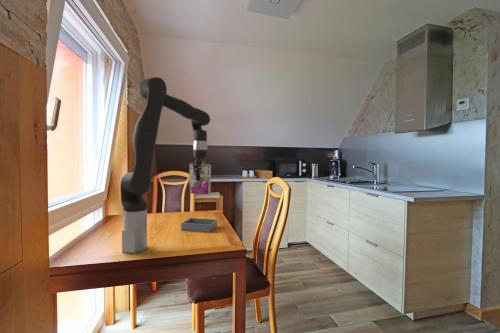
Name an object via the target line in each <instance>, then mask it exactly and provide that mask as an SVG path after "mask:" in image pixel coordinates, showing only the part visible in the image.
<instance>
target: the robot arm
mask: <svg viewBox="0 0 500 333" xmlns="http://www.w3.org/2000/svg"><path fill="white" fill-rule="evenodd" d="M137 90H138V94H139V95H140V96H141V97H142V98H143V99H144V100H146V104H145V107H144V109H143V110H142V113H141V115H140V116H139V118H138V119H137V121H136V123H135V125H134V126H135V127H134V131H133V136H132V146H133V151H134V154H135V155H134V158H135V161H134V162H135V163H134V168H133V171H130V172H127V173H125V174H123V176H122V177H121V180H120V185H119V186H120V189H119V190H120V202H121V205H122V209H123V211H122V212H123V213H122V214H123V216H122V217H123V218H122V222H123V227H122V229H121V253H126V254H137V253H140V252H144V251H145V250H146V249H147V248H148V204H147V201H145V200H144V197H143V195H145V194H146V193H147V192H148V191H149V190H150V188H151V184H152V172H153V171H152V170H153V169H152V167H153V162H154V161H153V159H154V154H155V153H154V152H155V149H156V148H155V147H156V143H157V142H156V141H157V137H158V132H159V131H158V129H159V125H160V120H161V116H162V111H163V107H165V108H167V109H169V110H171V111H172V112H175V113H176V114H178V115H180V116H181V117H183V118H185V119H187V120H190V123H191V127H192V131H193V132H192V133H193V145H192V146H193V152H192V153H193V156H192V157H193V158H194V159H195V161H193V162H192V163H193V168H194V172H195V173H196V180H197V181H199V180H200V171H201V165H202V164H208V162H207V160H205V159H207V158H208V142H207V141H208V132H207V131H206V130H204V129H203V128H202V127H203V126H207V125H209V124H210V122H211V116H210V115H209V113H208V112H206V111H204V110H202V109H199V108H197V107H194V106H193V105H191V104H190V103H188V102H187V101H184V100H183V99H181V98H180V99H179V98H176V97H174V96H172V95H170V94H167V90H168V88H167V84H166V82H165V80H164V79H162V78H161V77H151V78H145V79H143V80H141V81H140V82H139V83H138V85H137ZM200 164H201V165H200ZM199 167H200V168H199ZM195 169H196V170H195Z"/></svg>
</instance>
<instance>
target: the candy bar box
mask: <svg viewBox="0 0 500 333" xmlns="http://www.w3.org/2000/svg"><path fill="white" fill-rule="evenodd" d="M200 165H201V164H200ZM188 166H189V168H188V171H189V172H188V173H189V174H188V194H194V195H195V194H200V195H201V194H202V195H209V194H211V187H212V186H211V183H212V181H211V180H212V179H211V178H212V177H211V176H212V174H211V173H212V164H210V163H207V164H202V165H201V171H200V180H199V181H197V180H196V173H195V172H194V168H193V162H192V163H189V165H188ZM199 168H200V167H199ZM195 170H196V169H195Z"/></svg>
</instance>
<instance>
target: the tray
mask: <svg viewBox="0 0 500 333" xmlns="http://www.w3.org/2000/svg"><path fill="white" fill-rule="evenodd" d="M216 228H218V219H212V218H197V217H189V218H188V219H186V220H184V221H182V222H181V223H180V229H181V231H185V232H198V233H209V234H211V233H212V231H214V230H215V229H216Z"/></svg>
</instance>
